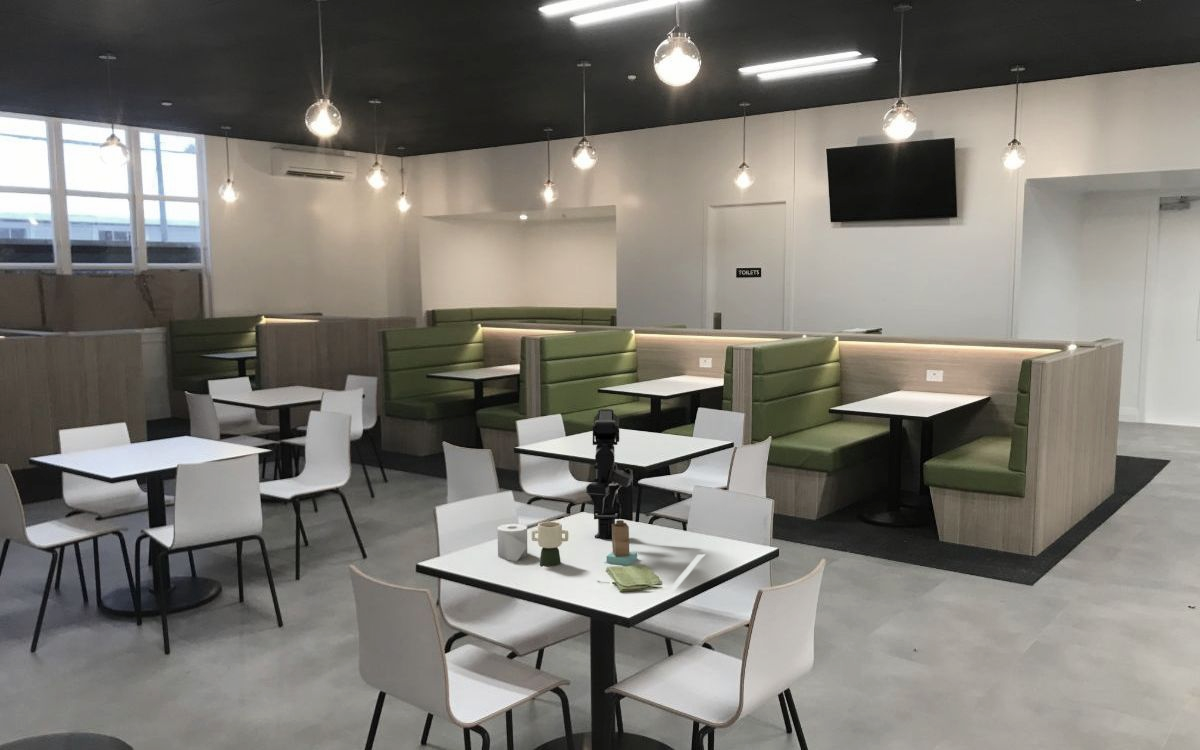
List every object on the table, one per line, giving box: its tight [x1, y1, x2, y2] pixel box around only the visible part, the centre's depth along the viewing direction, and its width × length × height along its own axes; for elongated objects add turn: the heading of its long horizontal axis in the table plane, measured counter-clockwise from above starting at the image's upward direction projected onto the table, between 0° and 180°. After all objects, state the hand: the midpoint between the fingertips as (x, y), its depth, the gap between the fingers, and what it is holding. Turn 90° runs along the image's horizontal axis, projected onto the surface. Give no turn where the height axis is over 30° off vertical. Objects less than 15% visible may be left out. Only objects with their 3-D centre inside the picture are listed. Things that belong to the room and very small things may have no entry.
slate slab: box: [604, 557, 639, 566], centre depth 271 cm, size 8×8×2 cm
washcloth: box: [605, 564, 664, 593], centre depth 255 cm, size 13×18×3 cm
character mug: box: [531, 521, 569, 568], centre depth 268 cm, size 11×7×13 cm, turn 86°
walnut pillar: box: [611, 519, 630, 557], centre depth 269 cm, size 4×4×10 cm
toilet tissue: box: [497, 523, 528, 562], centre depth 281 cm, size 9×13×9 cm
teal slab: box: [606, 551, 638, 566], centre depth 270 cm, size 7×7×2 cm
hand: (605, 511), depth 284 cm, fingers open, 9 cm apart
